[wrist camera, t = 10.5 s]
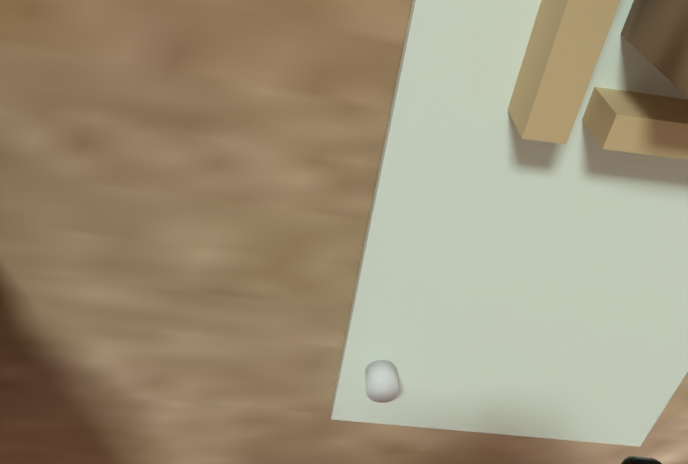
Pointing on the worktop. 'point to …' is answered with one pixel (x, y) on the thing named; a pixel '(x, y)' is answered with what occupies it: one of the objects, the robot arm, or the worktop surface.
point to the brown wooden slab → (661, 36)
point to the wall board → (524, 230)
